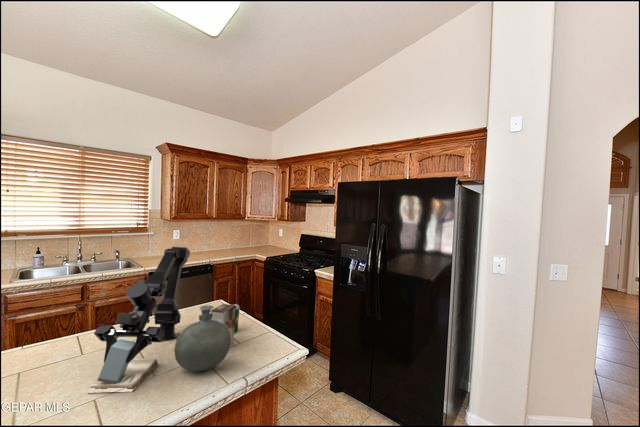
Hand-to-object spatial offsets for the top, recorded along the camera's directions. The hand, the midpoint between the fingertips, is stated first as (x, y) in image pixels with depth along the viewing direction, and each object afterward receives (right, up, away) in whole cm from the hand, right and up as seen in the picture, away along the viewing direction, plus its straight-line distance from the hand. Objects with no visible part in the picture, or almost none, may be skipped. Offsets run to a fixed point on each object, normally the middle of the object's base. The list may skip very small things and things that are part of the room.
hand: (115, 362), depth 76 cm
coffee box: (+20, -11, +30) cm, 37 cm away
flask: (+20, -10, +12) cm, 25 cm away
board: (-1, -8, +6) cm, 10 cm away
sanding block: (-2, -5, +1) cm, 6 cm away
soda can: (+19, -11, +45) cm, 50 cm away
